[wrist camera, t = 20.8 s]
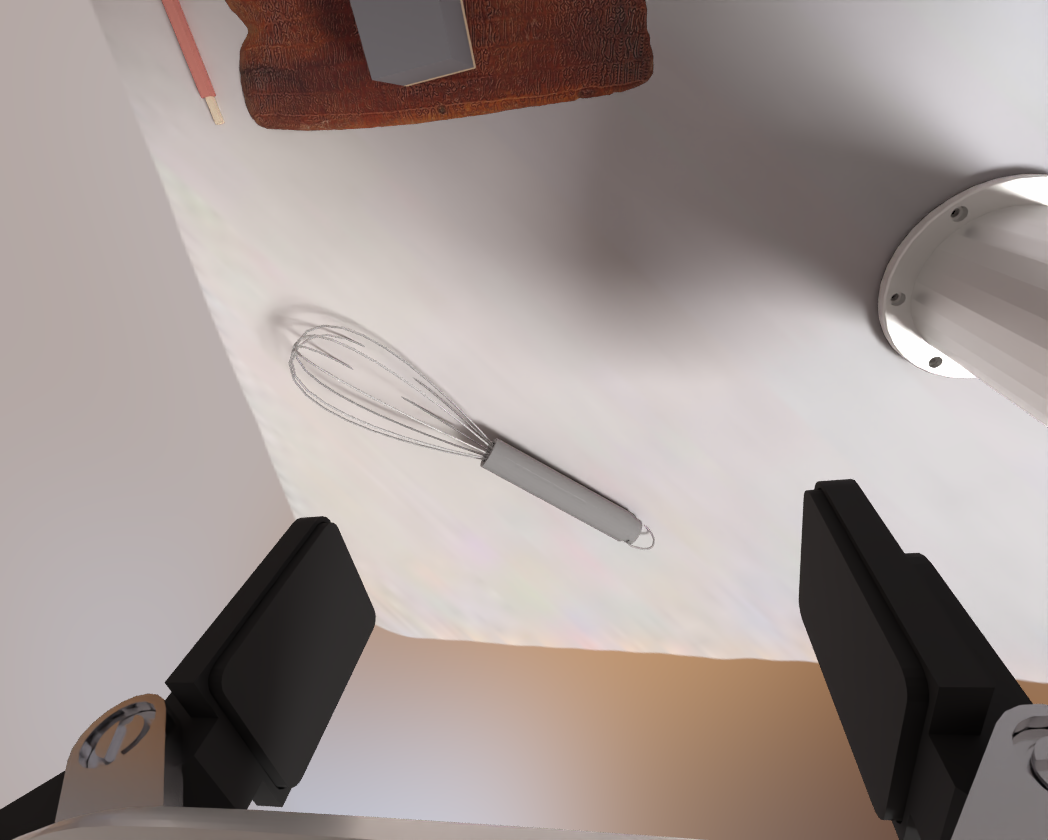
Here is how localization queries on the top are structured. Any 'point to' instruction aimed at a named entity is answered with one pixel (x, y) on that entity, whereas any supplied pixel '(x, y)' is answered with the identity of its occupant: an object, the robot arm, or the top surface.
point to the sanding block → (413, 39)
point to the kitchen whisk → (501, 459)
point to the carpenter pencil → (192, 56)
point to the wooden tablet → (494, 85)
